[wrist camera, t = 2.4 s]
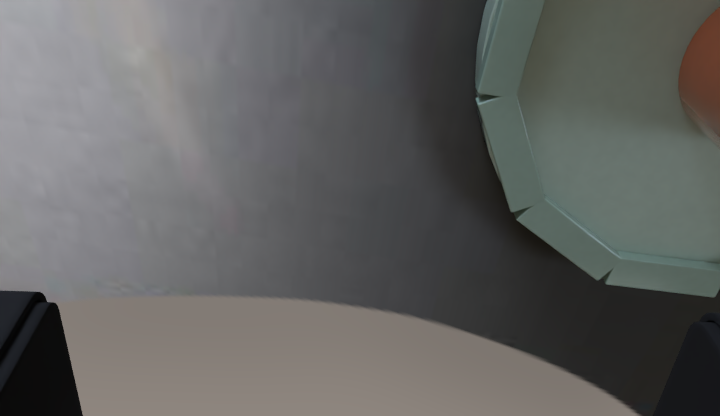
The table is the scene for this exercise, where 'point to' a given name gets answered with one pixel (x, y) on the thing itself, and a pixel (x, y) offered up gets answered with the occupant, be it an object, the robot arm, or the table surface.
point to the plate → (603, 136)
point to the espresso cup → (703, 79)
